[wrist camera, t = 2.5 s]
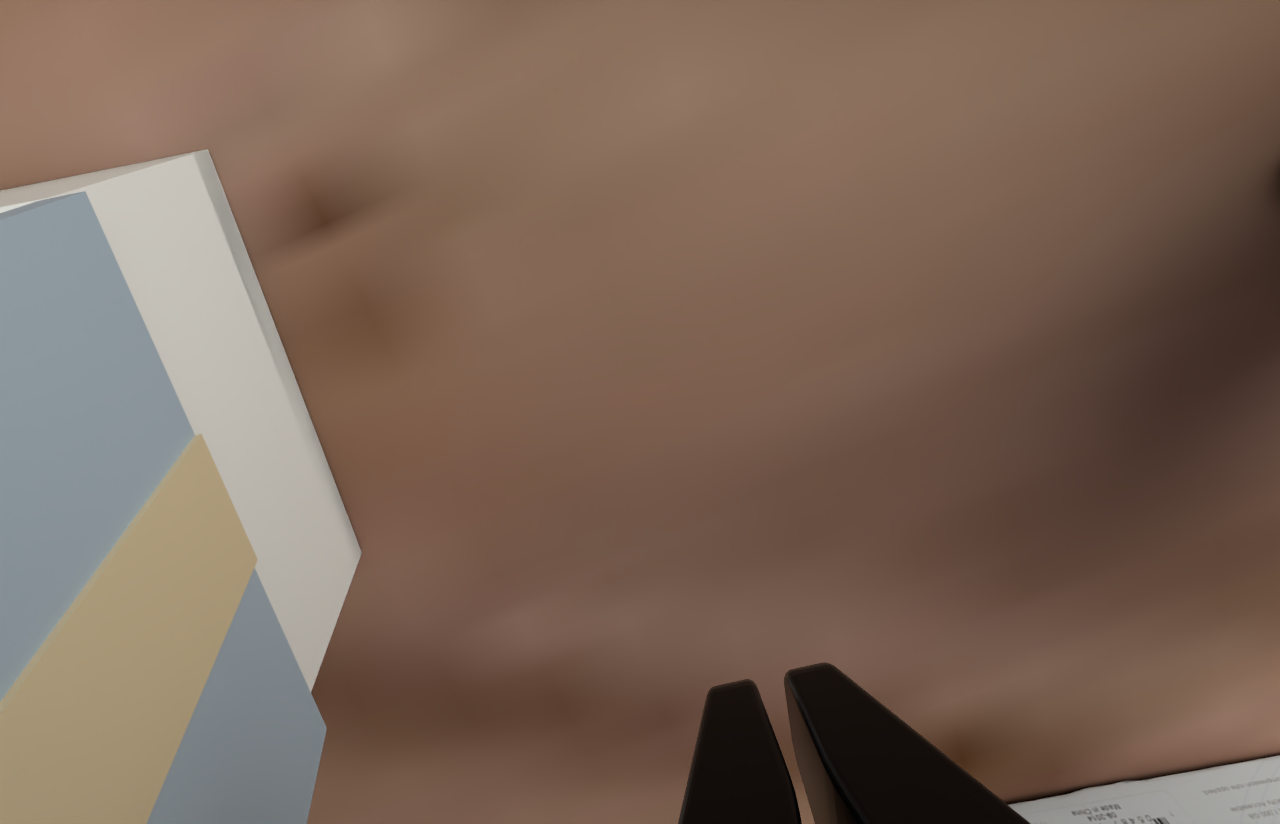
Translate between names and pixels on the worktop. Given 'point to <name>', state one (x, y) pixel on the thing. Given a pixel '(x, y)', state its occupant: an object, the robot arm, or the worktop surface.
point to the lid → (125, 570)
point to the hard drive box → (1171, 799)
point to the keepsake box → (228, 378)
